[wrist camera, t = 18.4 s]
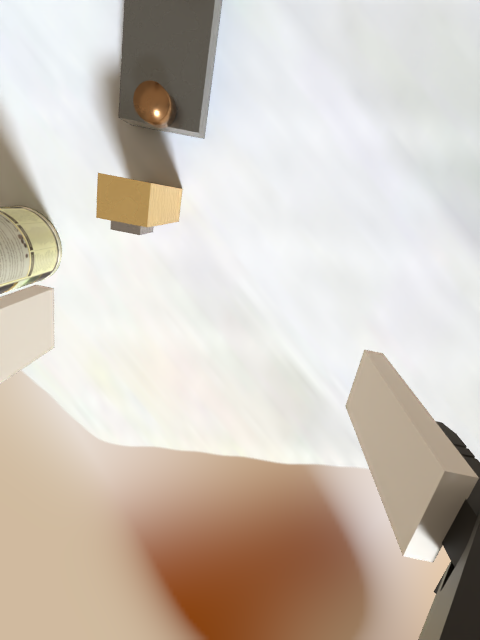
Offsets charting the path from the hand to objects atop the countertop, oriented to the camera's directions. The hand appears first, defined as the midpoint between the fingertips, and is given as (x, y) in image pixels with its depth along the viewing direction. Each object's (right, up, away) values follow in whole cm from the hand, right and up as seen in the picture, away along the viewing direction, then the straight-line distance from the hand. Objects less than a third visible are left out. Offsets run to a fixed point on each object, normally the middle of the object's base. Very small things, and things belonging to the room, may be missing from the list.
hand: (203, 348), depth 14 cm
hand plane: (-5, +33, +23) cm, 40 cm away
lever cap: (-9, +16, +29) cm, 34 cm away
